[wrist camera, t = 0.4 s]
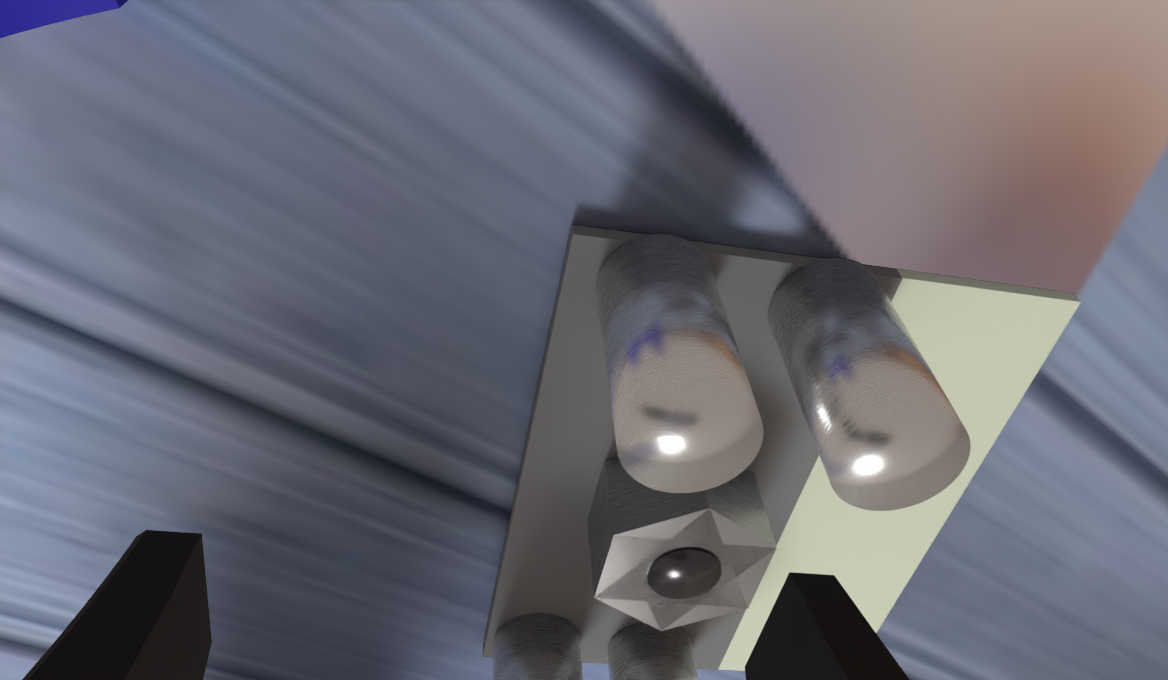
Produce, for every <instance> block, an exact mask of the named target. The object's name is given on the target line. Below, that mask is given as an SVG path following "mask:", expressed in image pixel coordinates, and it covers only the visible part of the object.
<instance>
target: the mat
mask: <svg viewBox="0 0 1168 680" xmlns="http://www.w3.org/2000/svg"><path fill="white" fill-rule="evenodd" d="M644 235H646V234H638V233H631V232H624V231H616V230H609V229H602V228H594V227H587V226H580V225H572V227H571V232H570V237H569V242H568V246H567V251H566V256H565V260H564V265H563V270H562V275H561V279H560V284H559V289H558V294H557V298H556V303H555V308H554V312H553V317H552V322H551V327H550V331H549V336H548V341H547V346H546V350H545V355H544V360H543V364H542V369H541V374H540V379H539V383H538V388H537V393H536V398H535V402H534V407H533V412H532V416H531V421H530V426H529V431H528V435H527V440H526V445H525V450H524V454H523V459H522V464H521V469H520V473H519V478H518V483H517V487H516V492H515V497H514V502H513V506H512V511H511V516H510V521H509V525H508V530H507V535H506V539H505V544H504V549H503V554H502V558H501V563H500V568H499V573H498V577H497V582H496V587H495V591H494V596H493V601H492V606H491V610H490V615H489V620H488V625H487V629H486V634H485V639H484V643H483V657H493V639H494V635H495V633H496V631H497V630H498V628H499V627H500V626H501V625H502V624H504V623H505V622H507V621H509V620H510V619H513V618H515V617H518V616H521V615H525V614H531V613H547V614H553V615H557V616H560V617H563V618H565V619H567V620H569V621H570V622H571V623H573V624H574V625H575V626H576V628H577V629H578V631H579V635H580V647H581V660H582V662H585V663H603V664H608V655H607V646H608V643H609V641H610V639H611V638H612V637H613V636H614V634H616V633H617V632H618V631H620V630H621V629H623V628H625V627H627V626H629V625H632V624H635V623H638V622H642V621H640V620H638V619H636V618H634V617H632V616H630V615H628V614H626V613H624V612H622V611H620V610H618V609H616V608H614V607H612V606H610V605H608V604H606V603H604V602H602V601H600V600H598V599H596V598H594V591H593V580H592V569H591V558H590V547H589V536H588V525H587V520H588V516H589V513H590V509H591V506H592V502H593V499H594V495H595V492H596V488H597V484H598V481H599V477H600V474H601V470H602V467H603V463H604V460H605V459H607V458H611V457H614V456H618V452H617V445H616V438H615V431H614V424H613V416H612V409H611V402H610V394H609V387H608V380H607V373H606V365H605V358H604V351H603V343H602V336H601V329H600V322H599V314H598V307H597V300H596V292H595V283H596V277H597V274H598V271H599V269H600V267H601V265H602V263H603V262H604V260H605V259H606V258H607V257H608V256H609V254H610V253H611V252H613V251H614V250H615V249H616V248H617V247H619V246H620V245H622V244H623V243H625V242H627V241H629V240H631V239H634V238H636V237H640V236H644ZM688 241H689V240H688ZM690 242H692V243H693V244H695V245H696V246H697V247H698V248H699V249H701V251H702V252H703V253H704V254H705V255H706V257H707V259H708V260H709V263H710V265H711V268H712V271H713V274H714V277H715V280H716V283H717V286H718V289H719V292H720V295H721V298H722V301H723V304H724V307H725V310H726V313H727V316H728V319H729V323H730V326H731V329H732V332H733V335H734V338H735V341H736V344H737V347H738V350H739V353H740V356H741V359H742V362H743V365H744V368H745V371H746V374H747V377H748V380H749V383H750V386H751V389H752V392H753V395H754V398H755V401H756V404H757V407H758V410H759V413H760V416H761V419H762V424H763V441H762V444H761V447H760V450H759V452H758V454H757V456H756V457H755V458H754V460H753V461H752V463H751V464H750V465H749V466H748V467H747V469H748V470H750V471H751V472H753V473H754V474H755V478H756V481H757V484H758V488H759V491H760V494H761V498H762V501H763V504H764V508H765V511H766V514H767V518H768V521H769V524H770V528H771V531H772V534H773V538H774V541H775V544H776V551H775V553H774V555H773V557H772V559H771V561H770V563H769V565H768V567H767V570H766V572H765V574H764V576H763V578H762V580H761V582H760V584H759V587H758V589H757V591H756V593H755V595H754V597H753V599H752V601H751V603H750V606H749V608H747V609H743V610H740V611H736V612H732V613H728V614H724V615H721V616H717V617H713V618H709V619H705V620H702V621H698V622H694V623H690V624H686V625H683V626H680V627H682V628H683V629H685V630H686V631H687V632H688V634H689V635H690V638H691V643H692V648H693V653H694V659H695V664H696V669H711V670H718V669H721V670H739V671H745V665H746V663H747V661H748V659H749V657H750V655H751V653H752V651H753V648H754V646H755V644H756V642H757V640H758V638H759V636H760V634H761V632H762V629H763V627H764V625H765V623H766V621H767V619H768V617H769V615H770V612H771V610H772V608H773V606H774V604H775V602H776V600H777V598H778V596H779V593H780V591H781V589H782V587H783V585H784V583H785V581H786V579H787V576H788V574H789V572H793V573H809V574H824V575H834V576H835V577H836V578H837V580H838V581H839V583H840V584H841V585H842V587H843V588H844V589H845V591H846V592H847V594H848V595H849V596H850V598H851V599H852V601H853V602H854V603H855V605H856V606H857V607H858V609H859V610H860V612H861V613H862V614H863V616H864V617H865V619H866V620H867V621H868V623H869V624H870V626H871V627H872V628H873V630H874V631H875V633H877V631H878V629H879V628H880V626H881V625H882V623H883V621H884V620H885V618H886V617H887V615H888V613H889V612H890V610H891V608H892V607H893V605H894V604H895V602H896V600H897V599H898V597H899V595H900V594H901V592H902V591H903V589H904V587H905V586H906V584H907V583H908V581H909V579H910V578H911V576H912V574H913V573H914V571H915V570H916V568H917V566H918V565H919V563H920V562H921V560H922V558H923V557H924V555H925V553H926V552H927V550H928V549H929V547H930V545H931V544H932V542H933V541H934V539H935V537H936V536H937V534H938V532H939V531H940V529H941V528H942V526H943V524H944V523H945V521H946V520H947V518H948V516H949V515H950V513H951V511H952V510H953V508H954V507H955V505H956V503H957V502H958V500H959V499H960V497H961V495H962V494H963V492H964V490H965V489H966V487H967V486H968V484H969V482H970V481H971V479H972V477H973V476H974V474H975V473H976V471H977V469H978V468H979V466H980V465H981V463H982V461H983V460H984V458H985V456H986V455H987V453H988V452H989V450H990V448H991V447H992V445H993V444H994V442H995V440H996V439H997V437H998V435H999V434H1000V432H1001V431H1002V429H1003V427H1004V426H1005V424H1006V423H1007V421H1008V419H1009V418H1010V416H1011V414H1012V413H1013V411H1014V410H1015V408H1016V406H1017V405H1018V403H1019V402H1020V400H1021V398H1022V397H1023V395H1024V393H1025V392H1026V390H1027V389H1028V387H1029V385H1030V384H1031V382H1032V380H1033V379H1034V377H1035V376H1036V374H1037V372H1038V371H1039V369H1040V368H1041V366H1042V364H1043V363H1044V361H1045V359H1046V358H1047V356H1048V355H1049V353H1050V351H1051V350H1052V348H1053V347H1054V345H1055V343H1056V342H1057V340H1058V338H1059V337H1060V335H1061V334H1062V332H1063V330H1064V329H1065V327H1066V326H1067V324H1068V322H1069V321H1070V319H1071V317H1072V316H1073V314H1074V313H1075V311H1076V309H1077V308H1078V306H1079V305H1080V303H1081V301H1080V300H1079V299H1078V298H1077V297H1076V296H1075V295H1074V294H1073V293H1070V292H1063V291H1055V290H1048V289H1041V288H1033V287H1026V286H1019V285H1011V284H1004V283H996V282H989V281H982V280H975V279H967V278H960V277H953V276H945V275H938V274H931V273H924V272H916V271H909V270H902V269H894V268H887V267H880V266H872V265H865V264H863V265H865V266H866V267H867V268H869V269H870V270H871V271H872V272H873V273H874V275H875V276H876V277H877V279H878V281H879V282H880V284H881V286H882V287H883V289H884V291H885V293H886V294H887V296H888V298H889V299H890V301H891V303H892V304H893V306H894V308H895V310H896V311H897V313H898V315H899V316H900V318H901V320H902V321H903V323H904V325H905V327H906V328H907V330H908V332H909V333H910V335H911V337H912V338H913V340H914V342H915V344H916V345H917V347H918V349H919V350H920V352H921V354H922V355H923V357H924V359H925V361H926V362H927V364H928V366H929V367H930V369H931V371H932V372H933V374H934V376H935V378H936V379H937V381H938V383H939V384H940V386H941V388H942V390H943V391H944V393H945V395H946V396H947V398H948V400H949V401H950V403H951V405H952V407H953V408H954V410H955V412H956V413H957V415H958V417H959V418H960V420H961V422H962V424H963V425H964V427H965V429H966V430H967V433H968V435H969V438H970V445H971V449H970V455H969V458H968V461H967V463H966V465H965V467H964V469H963V470H962V472H961V473H960V475H959V476H958V477H957V478H956V479H955V481H954V482H952V483H951V484H950V485H949V486H948V487H947V488H946V489H944V490H943V491H942V492H940V493H939V494H937V495H935V496H934V497H932V498H930V499H928V500H926V501H924V502H921V503H919V504H916V505H913V506H910V507H907V508H902V509H897V510H890V511H872V510H865V509H861V508H857V507H855V506H852V505H850V504H848V503H846V502H844V501H843V500H842V499H841V498H839V497H838V495H837V494H836V493H835V492H834V490H833V488H832V486H831V484H830V481H829V479H828V476H827V473H826V471H825V468H824V466H823V463H822V461H821V458H820V455H819V453H818V450H817V448H816V445H815V443H814V440H813V437H812V435H811V432H810V430H809V427H808V424H807V422H806V419H805V417H804V414H803V412H802V409H801V406H800V404H799V401H798V399H797V396H796V393H795V391H794V388H793V386H792V383H791V381H790V378H789V375H788V373H787V370H786V368H785V365H784V362H783V360H782V357H781V355H780V352H779V350H778V347H777V344H776V342H775V339H774V337H773V334H772V331H771V329H770V326H769V323H768V306H769V302H770V299H771V297H772V295H773V293H774V291H775V290H776V288H777V287H778V286H779V284H780V283H781V282H782V281H783V280H784V279H785V278H786V277H787V276H788V275H790V274H791V273H792V272H794V271H795V270H797V269H798V268H800V267H802V266H804V265H806V264H809V263H811V262H814V261H818V260H822V259H821V258H814V257H807V256H799V255H792V254H785V253H777V252H770V251H763V250H755V249H748V248H741V247H733V246H726V245H719V244H711V243H704V242H697V241H690Z"/></svg>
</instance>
